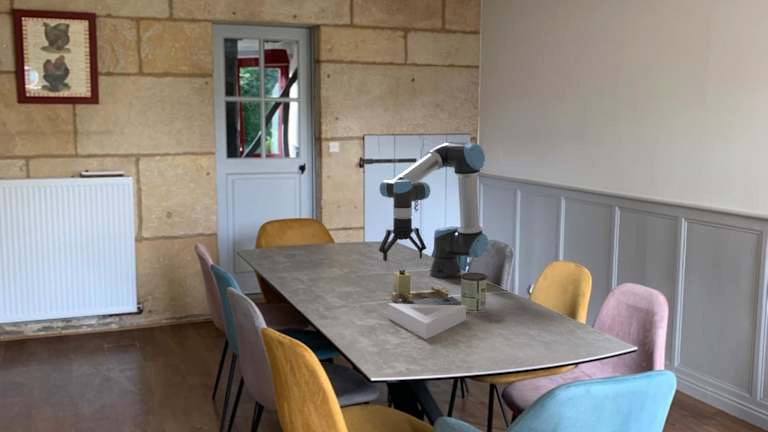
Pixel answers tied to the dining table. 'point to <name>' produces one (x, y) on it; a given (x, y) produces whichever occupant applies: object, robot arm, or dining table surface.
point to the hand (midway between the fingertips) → (402, 267)
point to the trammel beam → (422, 294)
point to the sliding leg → (402, 283)
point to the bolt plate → (431, 301)
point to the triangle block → (426, 317)
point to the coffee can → (473, 292)
